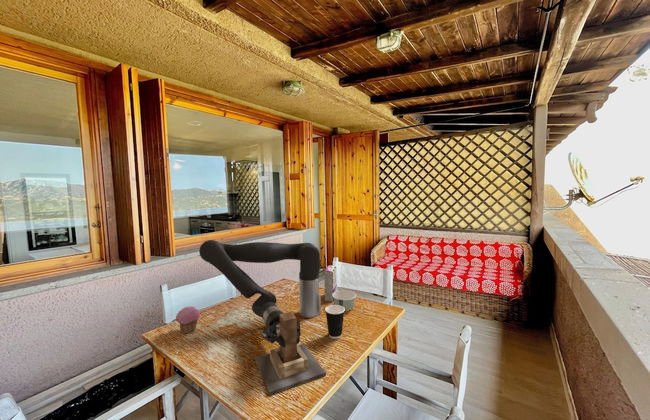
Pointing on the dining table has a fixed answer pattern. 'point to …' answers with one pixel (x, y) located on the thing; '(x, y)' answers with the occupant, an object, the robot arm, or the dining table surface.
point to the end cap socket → (288, 370)
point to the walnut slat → (288, 337)
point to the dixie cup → (335, 320)
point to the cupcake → (188, 319)
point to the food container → (344, 299)
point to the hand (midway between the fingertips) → (291, 342)
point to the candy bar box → (330, 282)
